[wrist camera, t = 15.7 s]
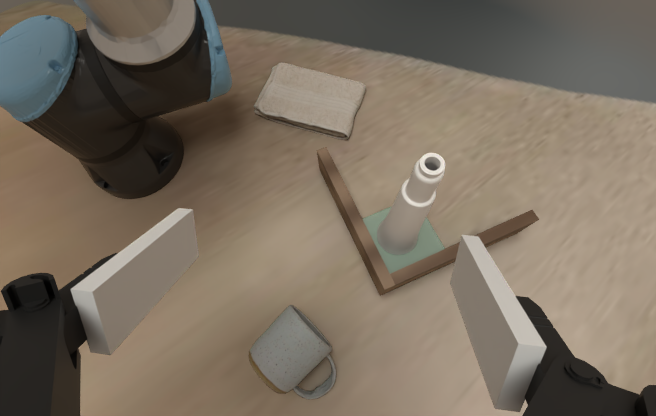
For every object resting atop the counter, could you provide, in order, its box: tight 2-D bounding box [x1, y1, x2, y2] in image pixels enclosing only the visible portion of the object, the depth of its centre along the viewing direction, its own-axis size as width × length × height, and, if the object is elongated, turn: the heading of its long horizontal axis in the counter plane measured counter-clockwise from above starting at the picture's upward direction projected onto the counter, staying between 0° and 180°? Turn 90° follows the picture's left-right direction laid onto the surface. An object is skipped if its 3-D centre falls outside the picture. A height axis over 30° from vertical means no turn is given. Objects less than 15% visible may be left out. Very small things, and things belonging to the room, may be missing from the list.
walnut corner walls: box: [317, 147, 539, 296], centre depth 49 cm, size 22×22×6 cm
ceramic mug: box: [249, 305, 336, 399], centre depth 41 cm, size 11×8×8 cm
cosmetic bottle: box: [377, 153, 445, 255], centre depth 40 cm, size 6×6×22 cm
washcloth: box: [254, 62, 366, 140], centre depth 59 cm, size 12×18×3 cm, turn 72°
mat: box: [363, 206, 445, 274], centre depth 50 cm, size 10×10×1 cm
